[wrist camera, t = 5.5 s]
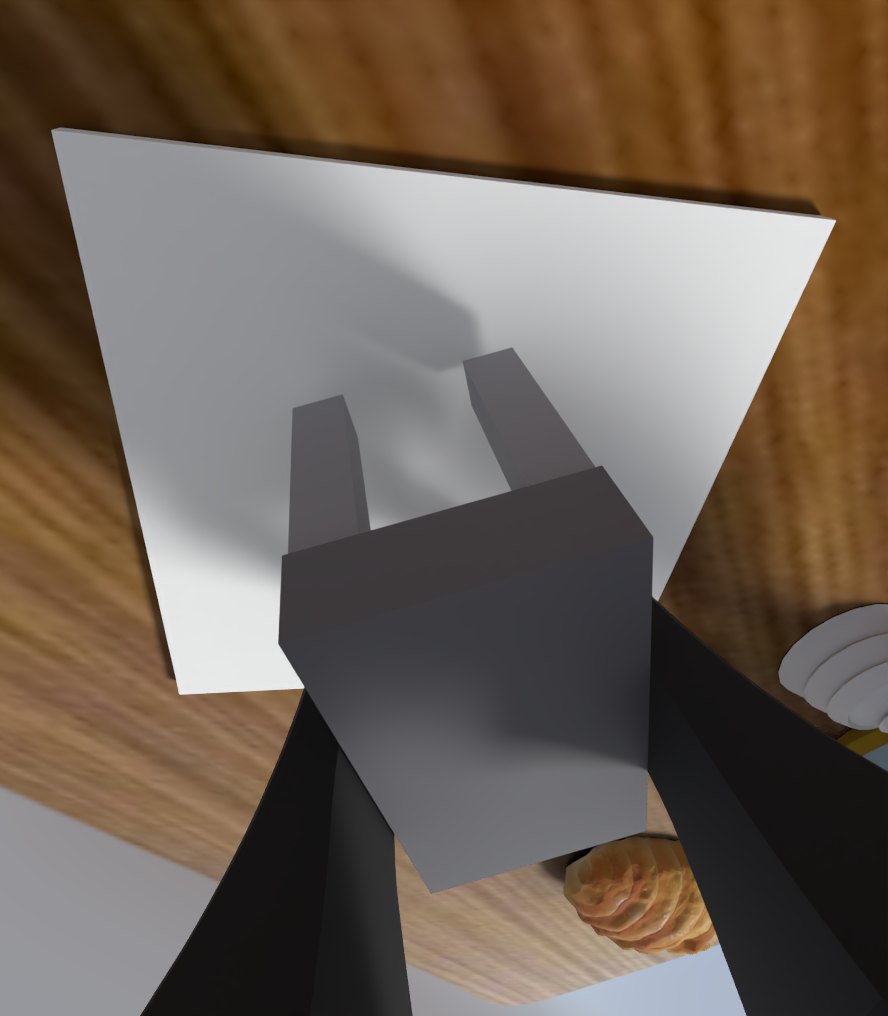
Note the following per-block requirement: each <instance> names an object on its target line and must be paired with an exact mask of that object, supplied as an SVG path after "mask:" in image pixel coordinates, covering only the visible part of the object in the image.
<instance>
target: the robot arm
mask: <svg viewBox="0 0 888 1016" xmlns="http://www.w3.org/2000/svg"><path fill="white" fill-rule="evenodd" d="M648 773H649V775H650V777H651V779H652V781H653V783H654V785H655V787H656V789H657V791H658V793H659V795H660V797H661V799H662V801H663V803H664V805H665V807H666V810H667V812H668V814H669V816H670V818H671V821H672V823H673V825H674V828H675V830H676V833H677V835H678V838H679V840H680V843H681V845H682V848H683V850H684V853H685V855H686V858H687V860H688V863H689V865H690V868H691V870H692V873H693V875H694V878H695V880H696V883H697V886H698V888H699V891H700V893H701V896H702V899H703V901H704V904H705V906H706V909H707V911H708V914H709V917H710V919H711V922H712V924H713V927H714V930H715V932H716V935H717V937H718V940H719V943H720V945H721V948H722V951H723V953H724V956H725V959H726V961H727V964H728V967H729V969H730V972H731V975H732V977H733V980H734V982H735V986H736V988H737V991H738V994H739V996H740V999H741V1002H742V1004H743V1007H744V1010H745V1013H746V1015H747V1016H888V771H886V770H885V769H883V768H881V767H880V766H878V765H876V764H875V763H873V762H871V761H869V760H868V759H866V758H864V757H863V756H861V755H859V754H858V753H856V752H854V751H853V750H851V749H849V748H848V747H846V746H845V745H843V744H842V743H840V742H839V741H837V740H835V739H834V738H832V737H831V736H829V735H828V734H826V733H825V732H823V731H822V730H820V729H819V728H817V727H815V726H814V725H812V724H811V723H809V722H808V721H807V720H805V719H804V718H802V717H801V716H799V715H798V714H796V713H795V712H793V711H792V710H791V709H789V708H788V707H786V706H785V705H783V704H782V703H780V702H779V701H778V700H776V699H775V698H774V697H772V696H771V695H769V694H768V693H767V692H765V691H764V690H763V689H761V688H760V687H759V686H757V685H756V684H755V683H753V682H752V681H751V680H749V679H748V678H747V677H746V676H744V675H743V674H742V673H740V672H739V671H738V670H737V669H735V668H734V667H733V666H731V665H730V664H729V663H728V662H726V661H725V660H724V659H723V658H722V657H720V656H719V655H718V654H717V653H715V652H714V651H713V650H712V649H711V648H709V647H708V646H707V645H706V644H705V643H704V642H702V641H701V640H700V639H699V638H698V637H697V636H695V635H694V634H693V633H692V632H691V631H690V630H688V629H687V628H686V627H685V626H684V625H683V624H682V623H680V622H679V621H678V620H677V619H676V618H675V617H674V616H673V615H672V614H670V613H669V612H668V611H667V610H666V609H665V608H664V607H663V606H662V605H661V604H660V603H659V602H658V601H657V600H656V599H655V598H653V597H652V618H651V659H650V695H649V735H648ZM140 1016H412V1009H411V1001H410V993H409V985H408V979H407V971H406V962H405V955H404V947H403V938H402V930H401V922H400V913H399V905H398V896H397V885H396V870H395V845H394V832H393V831H392V829H391V827H390V826H389V824H388V822H387V821H386V819H385V818H384V816H383V814H382V813H381V811H380V809H379V808H378V806H377V804H376V803H375V801H374V800H373V798H372V796H371V795H370V793H369V791H368V790H367V788H366V787H365V785H364V783H363V782H362V780H361V778H360V777H359V775H358V773H357V772H356V770H355V769H354V767H353V765H352V764H351V762H350V760H349V759H348V757H347V756H346V754H345V752H344V751H343V749H342V747H341V746H340V744H339V742H338V741H337V739H336V738H335V736H334V734H333V733H332V731H331V729H330V728H329V726H328V725H327V723H326V721H325V720H324V718H323V716H322V715H321V713H320V711H319V710H318V708H317V707H316V705H315V703H314V702H313V700H312V698H311V697H310V695H309V693H308V692H307V690H306V689H305V687H304V690H303V693H302V696H301V699H300V702H299V705H298V708H297V711H296V713H295V716H294V719H293V721H292V724H291V727H290V730H289V732H288V735H287V738H286V741H285V743H284V746H283V748H282V751H281V754H280V756H279V759H278V761H277V763H276V766H275V768H274V770H273V773H272V775H271V777H270V780H269V782H268V784H267V787H266V789H265V792H264V794H263V796H262V799H261V801H260V803H259V805H258V808H257V810H256V812H255V814H254V816H253V818H252V821H251V823H250V825H249V827H248V829H247V831H246V833H245V835H244V837H243V839H242V841H241V843H240V845H239V847H238V849H237V851H236V853H235V855H234V857H233V859H232V861H231V863H230V865H229V867H228V869H227V871H226V873H225V874H224V876H223V878H222V880H221V882H220V884H219V885H218V887H217V889H216V891H215V893H214V895H213V896H212V898H211V900H210V902H209V904H208V905H207V907H206V909H205V911H204V913H203V914H202V916H201V918H200V920H199V922H198V923H197V925H196V927H195V928H194V930H193V932H192V934H191V935H190V937H189V939H188V940H187V942H186V944H185V945H184V947H183V949H182V951H181V952H180V953H179V955H178V957H177V958H176V960H175V961H174V963H173V965H172V967H171V968H170V969H169V971H168V972H167V974H166V976H165V978H164V979H163V981H162V982H161V984H160V985H159V987H158V989H157V990H156V991H155V993H154V995H153V996H152V998H151V999H150V1001H149V1003H148V1004H147V1006H146V1007H145V1009H144V1011H143V1012H142V1014H141V1015H140Z"/></svg>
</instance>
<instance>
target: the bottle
mask: <svg viewBox="0 0 888 1016" xmlns="http://www.w3.org/2000/svg"><path fill="white" fill-rule="evenodd" d="M837 741H839V742H840V743H842V744H843V745H845V746H846V747H848V748H849V749H851V750H853V751H854V752H856V753H858V754H859V755H861V756H863V757H864V758H866V759H868V760H869V761H871V762H873V763H875V764H876V765H878V766H880V767H881V768H883V769H885V770H886V771H888V733H885V732H881V730H880V729H879V728H875V729H871V730H858V729H852V730H850V731H848V732H846V733H845V734H844V735H842V736H841V737H840V738H838V739H837Z"/></svg>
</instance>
